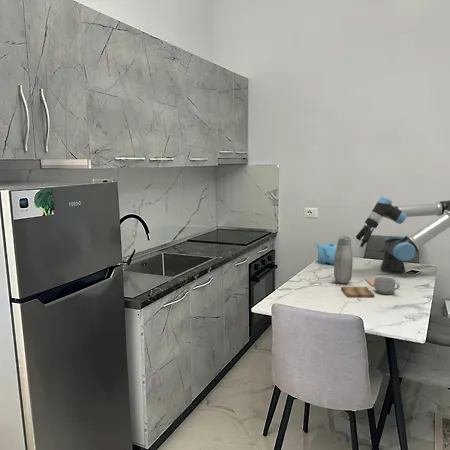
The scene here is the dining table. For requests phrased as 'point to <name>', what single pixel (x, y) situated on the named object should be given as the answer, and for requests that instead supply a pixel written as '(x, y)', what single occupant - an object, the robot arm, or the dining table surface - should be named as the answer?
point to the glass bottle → (343, 260)
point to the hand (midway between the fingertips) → (355, 249)
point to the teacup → (385, 285)
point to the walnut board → (357, 292)
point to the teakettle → (326, 253)
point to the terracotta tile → (371, 281)
